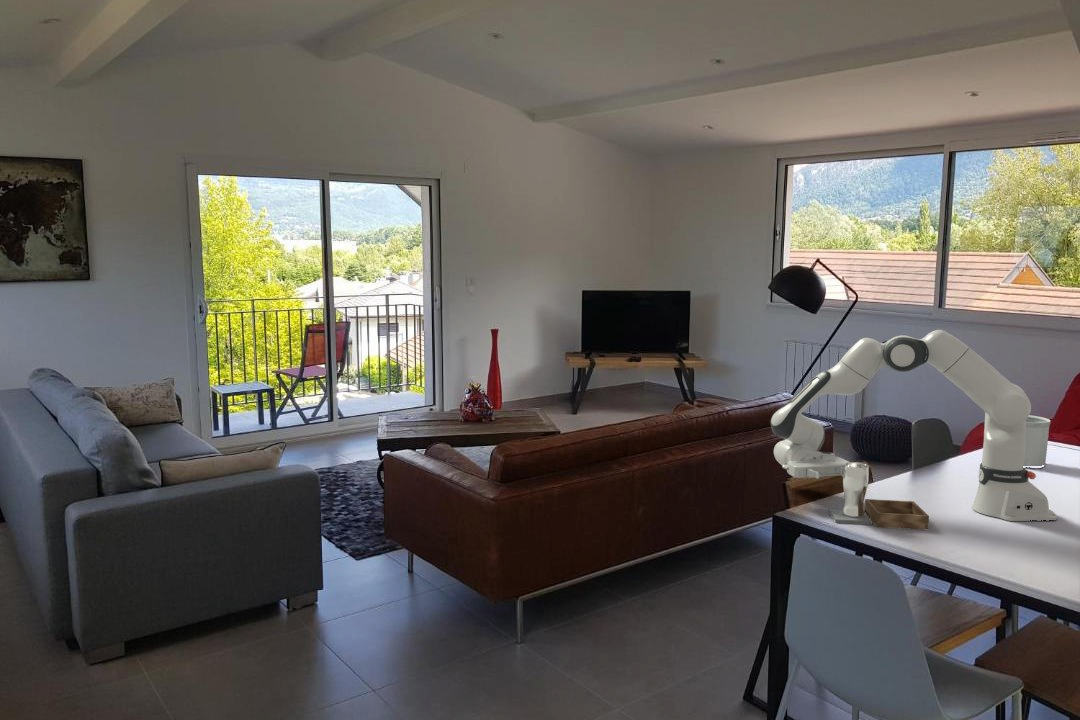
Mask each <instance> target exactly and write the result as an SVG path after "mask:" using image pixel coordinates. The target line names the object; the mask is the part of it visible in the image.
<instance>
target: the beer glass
mask: <svg viewBox="0 0 1080 720" xmlns="http://www.w3.org/2000/svg"><path fill="white" fill-rule="evenodd" d="M869 471H870V470H869V465H868V464H866V463H862V462H853V461H851V462H850V461H848V463H845V468H844V475H843V476H842V484H843V485H842V487H843V496H844V501H843V506H842V507H843V508H842V509H843V510H842V513H843V514H844V515H846V516H849V517H857V518H858V517H863V516H864V510H865V509H864V504H865V499H866V495H867V490H868V486H869V474H870V473H869Z"/></svg>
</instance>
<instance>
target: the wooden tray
mask: <svg viewBox="0 0 1080 720" xmlns="http://www.w3.org/2000/svg"><path fill="white" fill-rule="evenodd" d="M863 510H864V512H865V514H866V515H867V516H868V517H869V519H870V520H871V521H872V523H873V524H874V526H875V527H877V528H888V529H889V528H890V529H904V528H910V529H909V530H923V529H928V530H929V522H930V516H929V514H927V513H926V512H925V511H924V510H923V509H922V508H921V507H920V506H919V504H917V503H916V502H915V501H913V500H912V501H911V500H893V499H874V498H864V509H863Z"/></svg>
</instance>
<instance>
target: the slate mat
mask: <svg viewBox="0 0 1080 720" xmlns="http://www.w3.org/2000/svg"><path fill="white" fill-rule="evenodd" d="M842 510H843V508H842V509H841V508H828V510H827V512H828V514H829V513H830V514H831V515H830V514H829V515H830V517H831V516H832V517H833V518H832V517H831V518H832V519H834V520H835V521H834V520H833V521H834V522H835V523H836V522H839V524H851V523H855V524H854V525H856V524H857V525H872V523H873V522H872V520H871V519H870V518H869V517H868V516H867V514H866V513H865V512H864V516H863V517H858V518H857V517H849V516H846V515H844V514H843V513H842Z"/></svg>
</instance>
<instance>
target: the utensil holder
mask: <svg viewBox="0 0 1080 720" xmlns="http://www.w3.org/2000/svg"><path fill="white" fill-rule="evenodd" d="M1051 421H1052V420H1050V419H1049V418H1047V417H1046V418H1045V417H1043V416H1038V415H1037V416H1036V415H1030V414H1029V416H1028V418H1027V419H1026V435H1025V441H1026V444H1025V454H1024V464H1023V466H1042V465H1045V466H1046V459H1047V453H1048V452H1047V451H1048V442H1049V433H1050V426H1051Z"/></svg>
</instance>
